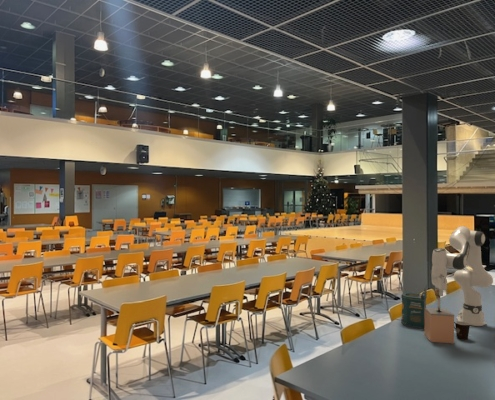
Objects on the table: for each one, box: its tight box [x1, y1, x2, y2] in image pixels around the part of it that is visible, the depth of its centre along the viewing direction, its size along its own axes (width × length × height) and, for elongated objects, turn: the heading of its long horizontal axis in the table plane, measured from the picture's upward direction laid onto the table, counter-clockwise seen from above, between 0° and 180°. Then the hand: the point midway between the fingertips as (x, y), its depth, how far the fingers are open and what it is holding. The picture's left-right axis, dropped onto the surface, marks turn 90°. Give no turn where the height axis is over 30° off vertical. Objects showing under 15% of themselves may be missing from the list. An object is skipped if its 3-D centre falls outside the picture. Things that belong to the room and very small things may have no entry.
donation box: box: [400, 284, 428, 329], centre depth 284 cm, size 16×16×28 cm
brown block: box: [423, 307, 455, 344], centre depth 251 cm, size 14×14×18 cm
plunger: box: [434, 289, 444, 312], centre depth 251 cm, size 10×10×17 cm
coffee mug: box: [454, 320, 471, 341], centre depth 254 cm, size 12×9×10 cm
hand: (439, 294), depth 252 cm, fingers closed on plunger, 4 cm apart
